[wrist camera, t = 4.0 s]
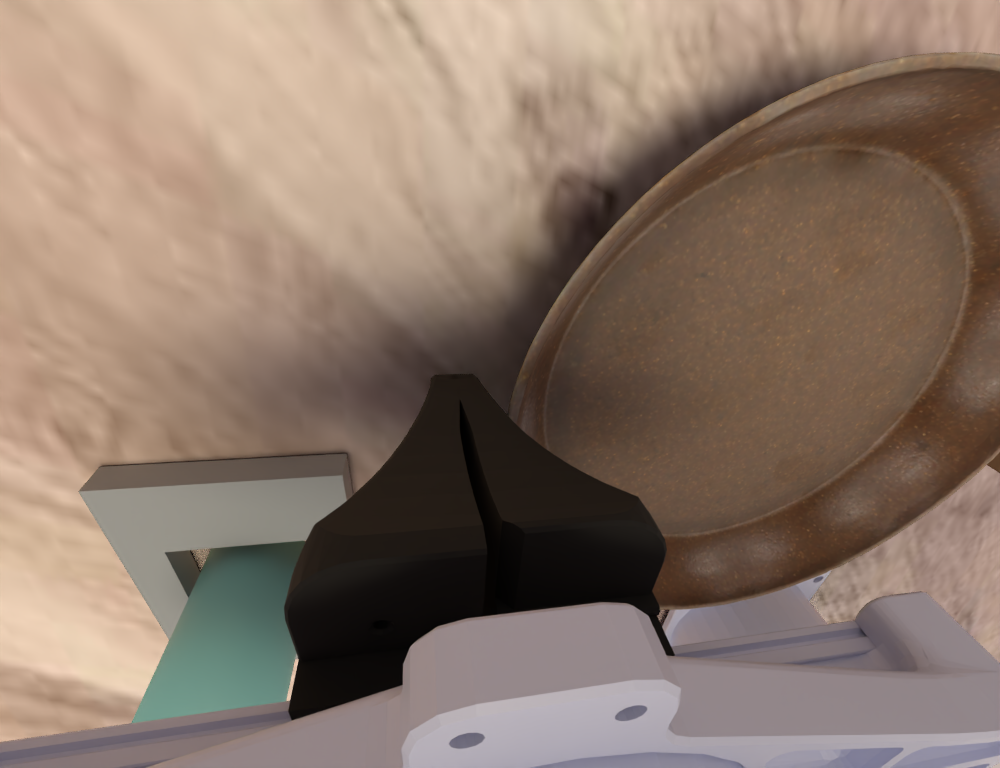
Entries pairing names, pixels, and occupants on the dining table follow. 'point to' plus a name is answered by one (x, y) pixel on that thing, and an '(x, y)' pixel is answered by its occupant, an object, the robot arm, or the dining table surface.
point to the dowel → (228, 636)
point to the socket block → (207, 514)
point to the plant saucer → (792, 330)
